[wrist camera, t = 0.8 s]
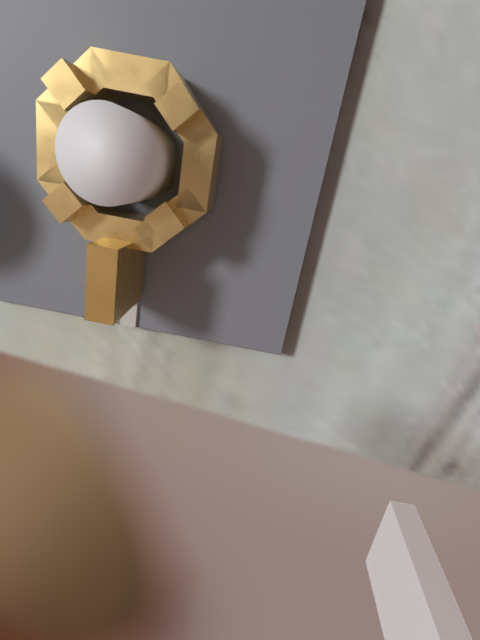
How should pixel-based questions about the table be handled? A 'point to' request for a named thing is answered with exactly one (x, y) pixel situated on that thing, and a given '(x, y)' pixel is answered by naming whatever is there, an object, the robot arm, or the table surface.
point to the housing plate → (178, 154)
